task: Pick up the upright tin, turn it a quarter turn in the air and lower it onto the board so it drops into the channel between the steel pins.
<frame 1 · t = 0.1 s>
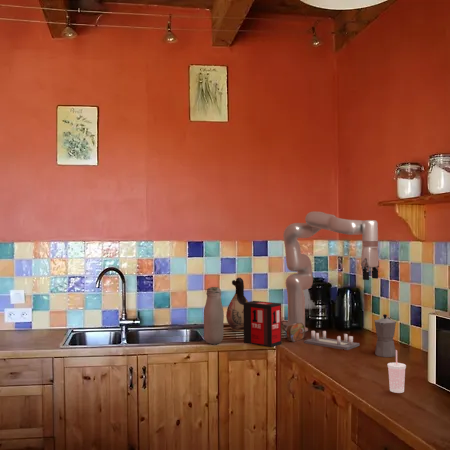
hand: (370, 279, 256), 31 cm above the worktop, tool pointing down, fingers open, 9 cm apart
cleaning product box: (262, 343, 254), on the worktop
ceramic jug: (240, 330, 287), on the worktop
coffeepot: (386, 354, 229), on the worktop
grey brown bottle: (213, 344, 254), on the worktop
pin board: (331, 344, 250), on the worktop
beverage cup: (396, 391, 177), on the worktop
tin: (295, 340, 261), on the worktop
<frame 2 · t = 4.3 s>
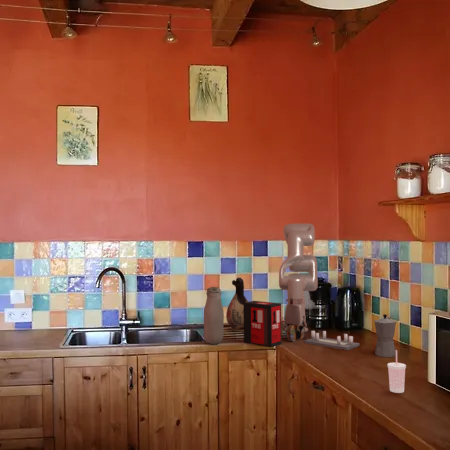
hand: (295, 337, 261), 1 cm above the worktop, tool pointing down, fingers closed on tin, 3 cm apart
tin: (295, 340, 261), on the worktop, touching gripper
everything else where it was.
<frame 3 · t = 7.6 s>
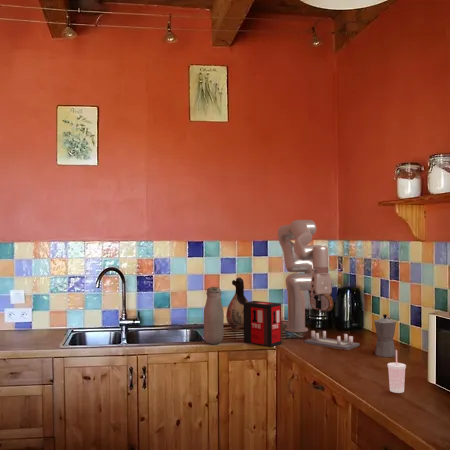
hand: (321, 307, 253), 17 cm above the worktop, tool pointing down, fingers closed on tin, 2 cm apart
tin: (320, 310, 253), point 16 cm above the worktop, touching gripper
everything else where it was.
when the fingers open (3 cm above the worktop, at t = 10.4 s): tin stays where it is, resting on pin board.
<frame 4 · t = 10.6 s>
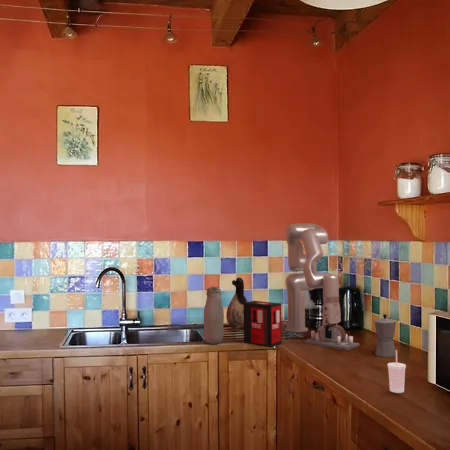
hand: (331, 336, 250), 4 cm above the worktop, tool pointing down, fingers open, 4 cm apart
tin: (330, 342, 250), point 1 cm above the worktop, touching pin board
everything else where it was.
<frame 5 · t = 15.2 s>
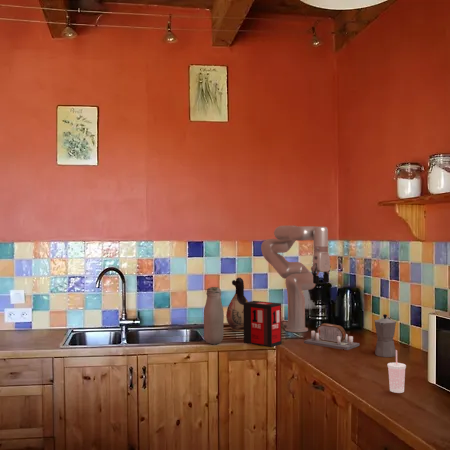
hand: (321, 282, 268), 28 cm above the worktop, tool pointing down, fingers open, 9 cm apart
nothing on the worktop moved.
at the end: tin 0.3 cm off-centre on the pin board, point 1.1 cm above the pin board's base; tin tilted 0°; the gripper is holding nothing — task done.
